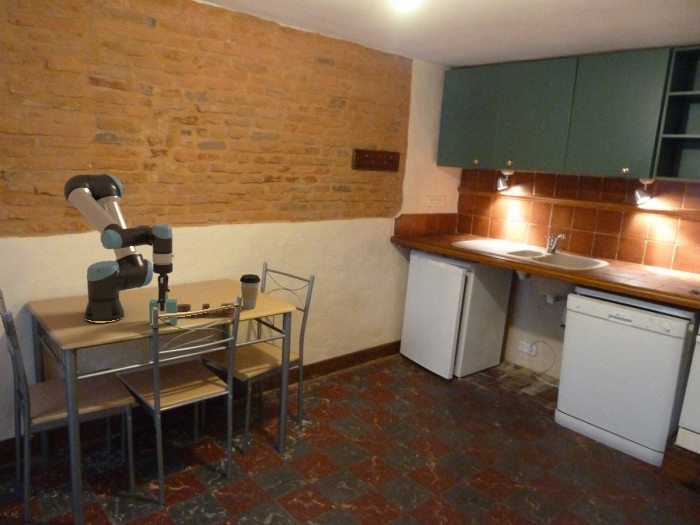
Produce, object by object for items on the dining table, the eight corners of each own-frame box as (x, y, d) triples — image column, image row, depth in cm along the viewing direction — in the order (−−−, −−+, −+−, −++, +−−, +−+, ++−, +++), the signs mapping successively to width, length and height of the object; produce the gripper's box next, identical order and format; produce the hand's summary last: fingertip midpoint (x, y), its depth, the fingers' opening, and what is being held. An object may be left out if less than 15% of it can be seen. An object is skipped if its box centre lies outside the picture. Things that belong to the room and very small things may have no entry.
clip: (149, 325, 209) (149, 302, 207) (150, 322, 213) (150, 299, 211) (176, 325, 212) (176, 302, 210) (177, 321, 216) (177, 299, 213)
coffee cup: (243, 311, 234) (244, 279, 231) (236, 305, 242) (236, 274, 238) (262, 308, 239) (263, 278, 236) (254, 302, 247) (255, 273, 244)
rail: (177, 318, 220) (177, 307, 218) (177, 313, 225) (177, 303, 224) (234, 316, 226) (234, 306, 225) (233, 312, 231) (233, 302, 230)
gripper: (170, 270, 196) (171, 322, 200) (174, 255, 219) (175, 302, 224) (149, 270, 194) (151, 323, 198) (155, 255, 217) (156, 303, 222)
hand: (163, 312), depth 211 cm, fingers open, 13 cm apart
